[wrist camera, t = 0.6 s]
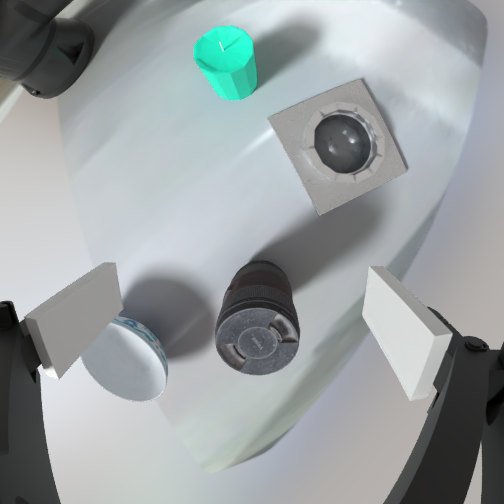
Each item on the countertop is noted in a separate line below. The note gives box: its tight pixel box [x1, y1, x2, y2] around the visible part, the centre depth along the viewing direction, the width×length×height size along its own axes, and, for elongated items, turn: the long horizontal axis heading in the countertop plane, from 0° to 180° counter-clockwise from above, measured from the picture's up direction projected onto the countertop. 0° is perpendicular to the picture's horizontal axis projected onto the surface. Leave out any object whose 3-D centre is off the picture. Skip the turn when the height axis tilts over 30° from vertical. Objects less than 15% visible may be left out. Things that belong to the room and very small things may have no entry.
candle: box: [194, 25, 257, 100], centre depth 26 cm, size 6×6×12 cm
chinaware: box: [80, 317, 168, 402], centre depth 39 cm, size 15×15×8 cm
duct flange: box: [267, 79, 407, 216], centre depth 32 cm, size 14×14×3 cm
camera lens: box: [215, 261, 300, 375], centre depth 32 cm, size 8×8×15 cm
